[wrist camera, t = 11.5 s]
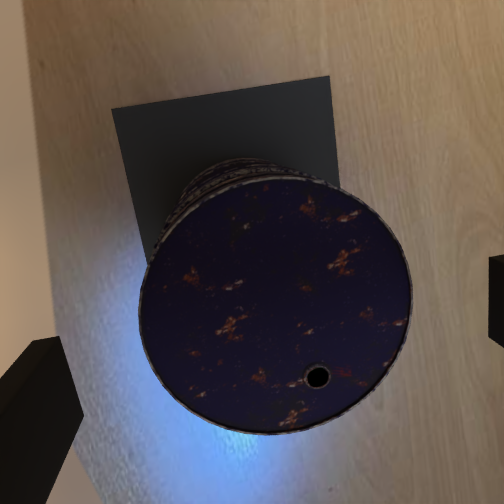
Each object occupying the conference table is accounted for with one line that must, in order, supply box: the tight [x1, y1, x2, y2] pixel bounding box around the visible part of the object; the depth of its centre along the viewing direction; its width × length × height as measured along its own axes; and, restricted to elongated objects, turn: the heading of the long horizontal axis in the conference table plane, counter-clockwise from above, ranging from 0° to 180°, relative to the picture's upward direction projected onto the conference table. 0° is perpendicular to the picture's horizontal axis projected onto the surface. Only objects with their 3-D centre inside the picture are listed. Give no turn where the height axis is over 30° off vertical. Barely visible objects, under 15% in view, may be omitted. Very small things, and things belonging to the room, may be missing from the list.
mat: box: [111, 76, 340, 265], centre depth 29 cm, size 18×14×1 cm
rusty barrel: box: [138, 158, 413, 435], centre depth 22 cm, size 10×10×15 cm
